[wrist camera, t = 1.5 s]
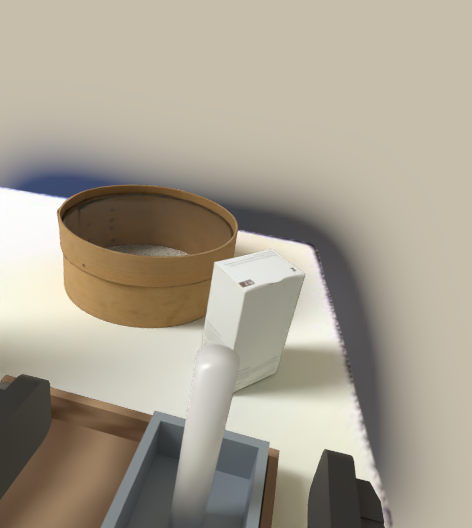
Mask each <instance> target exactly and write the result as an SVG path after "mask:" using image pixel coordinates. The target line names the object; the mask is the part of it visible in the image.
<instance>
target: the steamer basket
mask: <svg viewBox="0 0 472 528" xmlns="http://www.w3.org/2000/svg"><path fill="white" fill-rule="evenodd" d="M57 216H58V222H59V230H60V245H61V249H62V252H63V262H64V286H65V290H66V293H67V295H68V296H69V298H70V299H71V300H72V302H73V303H74V304H75V305H76V306H78V307H79V308H80V309H82V310H83V311H85V312H86V313H88V314H90V315H92V316H94V317H96V318H99V319H101V320H104V321H107V322H110V323H114V324H118V325H123V326H129V327H139V328H164V327H172V326H177V325H182V324H186V323H189V322H192V321H195V320H197V319H199V318H202V317H204V316H205V315H206V313H207V306H208V300H209V294H210V288H211V281H212V275H213V269H214V263H215V262H217V261H222V260H226V259H231V258H233V255H234V250H235V244H236V238H237V232H238V225H237V221H236V219H235V218H234V216H233V215H232V214H231V213H230V212H229V211H227V210H226V209H225V208H223V207H222V206H220V205H219V204H217V203H215V202H213V201H210V200H209V199H206V198H204V197H201V196H198V195H195V194H192V193H189V192H185V191H182V190H177V189H172V188H166V187H160V186H148V185H115V186H106V187H99V188H94V189H90V190H86V191H83V192H80V193H78V194H76V195H74V196H72V197H70V198H69V199H67V200H66V201H65V202H64V203H63V204H62V206H61V207H60V208H59V209H58V210H57ZM128 244H129V245H130V244H138V245H139V244H148V245H153V246H154V245H158V246H164V247H169V248H173V249H177V250H180V251H183V252H186V253H188V254H190V255H188V254H187V255H185V253H184V255H185V256H176V255H175V256H174V255H173V256H168V254H167V256H166V257H165V255H164V256H162V254H161V256H149V254H148V256H142V255H140V254H139V255H134V254H127V253H121V252H117V251H113V250H112V249H111V250H110V249H108V247H112V246H116V247H118V245H124V246H125V245H128ZM135 246H136V245H135ZM140 246H141V245H140ZM145 246H146V245H145ZM137 247H138V246H137ZM155 247H156V246H155ZM164 247H163V248H164ZM105 248H107V249H105ZM123 248H124V247H123ZM116 249H117V248H116ZM130 249H131V247H130ZM132 249H133V248H132ZM150 249H151V248H150ZM152 249H153V248H152ZM166 249H167V248H166ZM118 250H119V247H118ZM139 250H140V249H139ZM144 250H145V249H144ZM158 250H159V249H158ZM160 250H161V249H160ZM120 251H121V249H120ZM125 251H126V248H125ZM127 251H128V250H127ZM145 251H146V250H145ZM122 252H123V251H122ZM129 252H130V251H129ZM174 252H175V251H174ZM138 253H139V252H138ZM149 253H150V250H149ZM155 253H156V252H155ZM180 253H181V252H180ZM178 254H179V253H178ZM144 255H145V254H144ZM146 255H147V254H146ZM152 255H153V254H152ZM181 255H182V254H181Z"/></svg>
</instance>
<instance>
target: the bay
mask: <svg viewBox="0 0 472 528" xmlns="http://www.w3.org/2000/svg"><path fill="white" fill-rule="evenodd" d="M15 379H16V378H15V377H12V376H8V375H6V376H5V377H4V378H3V379H2V380H1V381H0V389H3V390H5V389H6V388H7V387H8V386H9V385H10V384H11V383H12V382H13V381H14V380H15ZM50 397H51V424H50V428H49V431H48V433H47V435H46V437H45V439H44V441H43V442H42V444H41V445H40V446H39V448H38V449H37V450H36V452H35V453H34V454H33V456H32V457H31V459H30V460H29V461H28V463H27V464H26V465H25V467H24V468H23V470H22V471H21V472H20V474H19V475H18V476H17V478H16V479H15V480H14V482H13V483H12V485H11V486H10V487H9V489H8V490H7V491H6V493H5V494H4V496H3V497H2V498H1V500H0V528H101V526H102V523H103V521H104V519H105V517H106V515H107V513H108V511H109V508H110V506H111V504H112V502H113V500H114V498H115V495H116V493H117V491H118V489H119V487H120V485H121V483H122V480H123V478H124V476H125V474H126V472H127V470H128V467H129V465H130V463H131V461H132V459H133V457H134V455H135V452H136V450H137V448H138V446H139V444H140V442H141V440H142V437H143V435H144V433H145V431H146V429H147V427H148V424H149V422H150V420H151V418H152V416H153V415H149V414H146V413H142V412H138V411H135V410H131V409H127V408H124V407H120V406H117V405H113V404H109V403H106V402H102V401H98V400H95V399H91V398H88V397H84V396H80V395H77V394H73V393H69V392H66V391H62V390H59V389H55V388H51V387H50ZM278 458H279V450H276V449H272V448H269V451H268V458H267V466H266V473H265V480H264V488H263V495H262V503H261V510H260V518H259V525H258V528H271V524H272V514H273V505H274V496H275V486H276V477H277V468H278Z"/></svg>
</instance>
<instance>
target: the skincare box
mask: <svg viewBox="0 0 472 528" xmlns="http://www.w3.org/2000/svg"><path fill="white" fill-rule="evenodd" d="M304 278H305V273H303V272H302V271H301V270H299V269H298V268H297V267H295V266H294V265H293V264H291V263H290V262H289V261H287V260H286V259H284V258H283V257H282V256H281V255H279V254H278V253H277V252H276V251H274V250H273V249H269V250H265V251H260V252H256V253H252V254H248V255H244V256H240V257H235V258H231V259H226V260H222V261H217V262H215V263H214V269H213V275H212V281H211V288H210V294H209V300H208V306H207V313H206V319H205V325H204V331H203V338H202V344H201V348H202V347H204V346H207V345H211V344H219V345H224V346H227V347H229V348H231V349H232V350H234V351H235V352H236V353H237V354H238V356H239V358H240V366H239V370H238V374H237V379H236V383H235V387H234V392H235V391H237V390H239V389H242V388H244V387H246V386H248V385H250V384H253V383H255V382H257V381H259V380H262V379H264V378H266V377H268V376H270V375H272V374H275V373H276V372H277V369H278V366H279V362H280V359H281V356H282V352H283V349H284V345H285V342H286V338H287V335H288V331H289V328H290V325H291V321H292V318H293V315H294V311H295V308H296V304H297V301H298V298H299V294H300V291H301V287H302V284H303V281H304Z"/></svg>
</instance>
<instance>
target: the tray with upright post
mask: <svg viewBox="0 0 472 528" xmlns="http://www.w3.org/2000/svg"><path fill="white" fill-rule="evenodd" d="M239 366H240V358H239V356H238V354H237V353H236V352H235V351H234V350H232V349H231V348H229V347H227V346H224V345H219V344H211V345H207V346H204V347H202V348H201V349H200V350H199V351H198V352H197V355H196V361H195V367H194V373H193V379H192V386H191V392H190V398H189V404H188V410H187V416H186V419H183V418H179V417H176V416H172V415H168V414H165V413H161V412H157V411H155V412H154V414H153V416H152V418H151V420H150V422H149V424H148V427H147V429H146V431H145V433H144V435H143V437H142V440H141V442H140V444H139V446H138V448H137V450H136V452H135V455H134V457H133V459H132V461H131V463H130V465H129V467H128V470H127V472H126V474H125V476H124V478H123V480H122V483H121V485H120V487H119V489H118V491H117V493H116V495H115V498H114V500H113V502H112V504H111V506H110V508H109V511H108V513H107V515H106V517H105V519H104V521H103V523H102V526H101V528H258V525H259V518H260V510H261V503H262V495H263V488H264V480H265V473H266V466H267V458H268V451H269V443H270V442H266V441H263V440H259V439H255V438H252V437H248V436H245V435H241V434H237V433H234V432H230V431H226V430H225V426H226V422H227V417H228V413H229V409H230V404H231V400H232V396H233V392H234V387H235V383H236V379H237V374H238V370H239Z"/></svg>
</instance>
